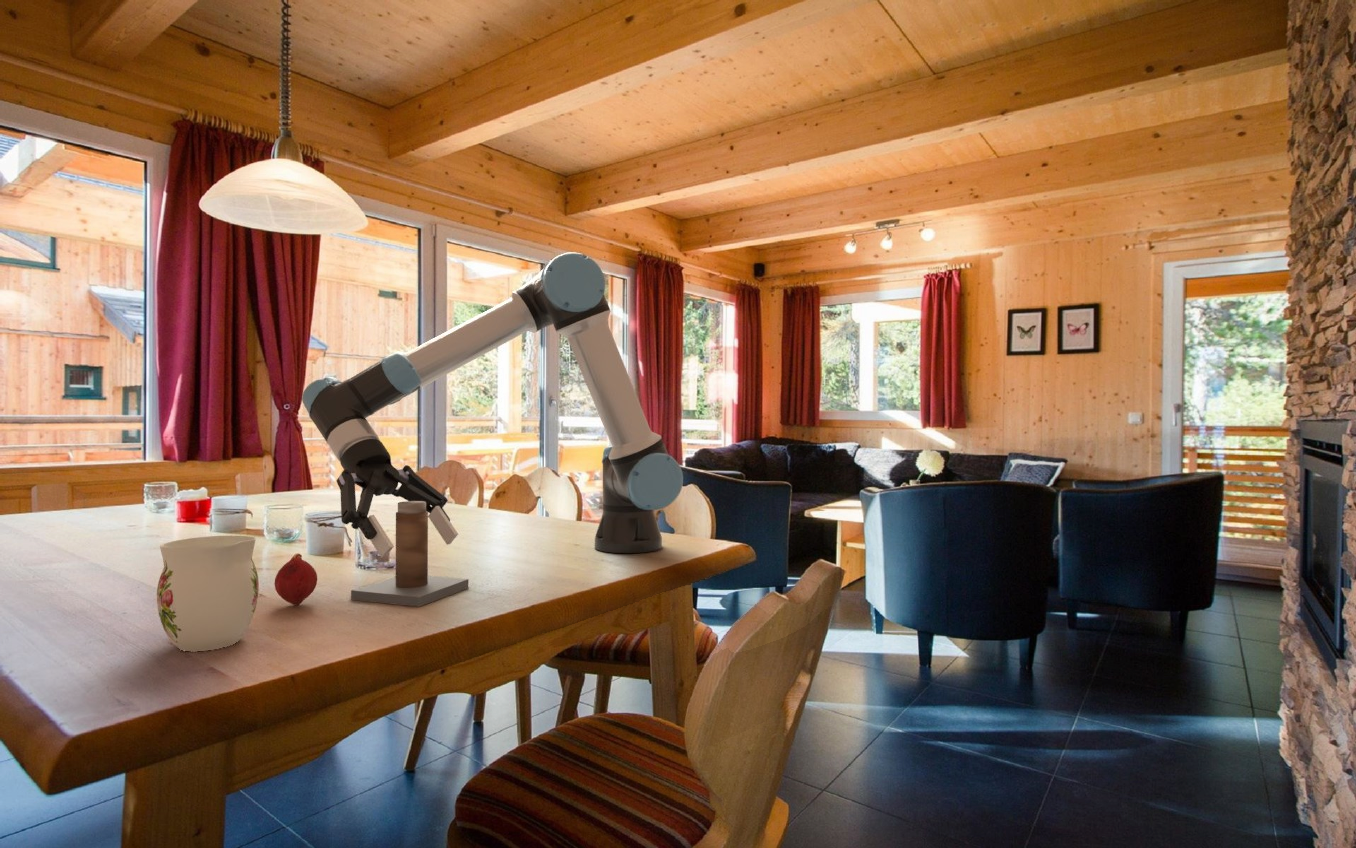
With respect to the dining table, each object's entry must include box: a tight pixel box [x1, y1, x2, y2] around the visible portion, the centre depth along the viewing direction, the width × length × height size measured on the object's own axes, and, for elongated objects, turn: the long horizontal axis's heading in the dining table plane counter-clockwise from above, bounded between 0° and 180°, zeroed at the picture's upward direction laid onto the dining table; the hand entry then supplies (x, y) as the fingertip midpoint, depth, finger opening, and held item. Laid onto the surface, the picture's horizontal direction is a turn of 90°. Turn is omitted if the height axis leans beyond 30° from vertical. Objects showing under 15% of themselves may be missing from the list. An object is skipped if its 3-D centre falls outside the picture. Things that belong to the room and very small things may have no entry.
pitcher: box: [156, 535, 260, 653], centre depth 94 cm, size 11×18×14 cm, turn 45°
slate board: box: [350, 575, 469, 608], centre depth 120 cm, size 13×13×2 cm
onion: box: [273, 553, 318, 606], centre depth 112 cm, size 6×6×8 cm
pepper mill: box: [395, 500, 429, 588], centre depth 120 cm, size 5×5×14 cm
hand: (422, 545), depth 119 cm, fingers open, 13 cm apart
